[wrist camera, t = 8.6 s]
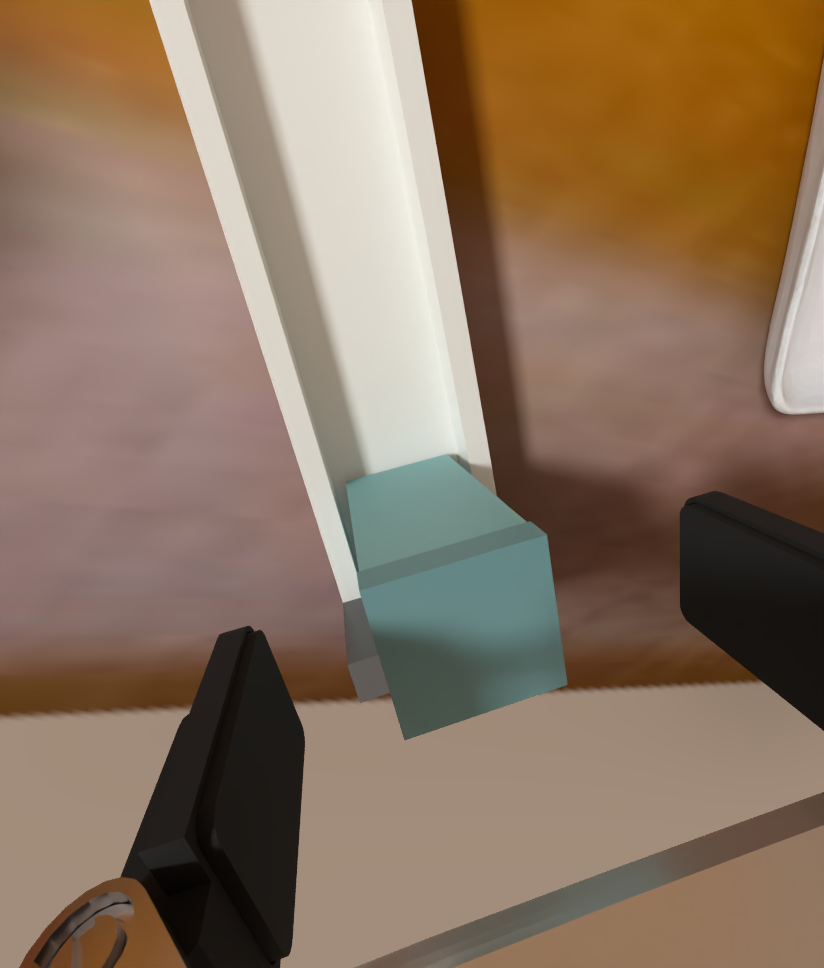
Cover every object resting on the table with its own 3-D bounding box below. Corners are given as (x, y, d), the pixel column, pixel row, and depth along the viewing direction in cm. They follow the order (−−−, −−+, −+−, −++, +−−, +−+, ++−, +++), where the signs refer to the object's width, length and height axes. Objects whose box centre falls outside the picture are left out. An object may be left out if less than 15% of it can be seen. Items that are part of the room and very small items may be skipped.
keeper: (447, 452, 17) (546, 534, 9) (466, 545, 18) (567, 685, 11) (343, 480, 17) (359, 590, 9) (370, 574, 18) (404, 740, 10)
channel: (379, -39, 13) (417, -321, 8) (490, 558, 20) (554, 639, 15) (158, -7, 13) (25, -293, 7) (350, 601, 19) (360, 702, 14)
